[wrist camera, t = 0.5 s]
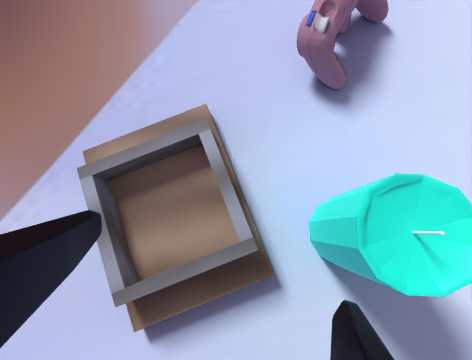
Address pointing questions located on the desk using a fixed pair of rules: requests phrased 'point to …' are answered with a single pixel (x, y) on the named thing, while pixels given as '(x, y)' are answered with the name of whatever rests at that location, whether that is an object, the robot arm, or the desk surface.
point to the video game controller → (332, 34)
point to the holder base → (171, 218)
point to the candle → (399, 234)
